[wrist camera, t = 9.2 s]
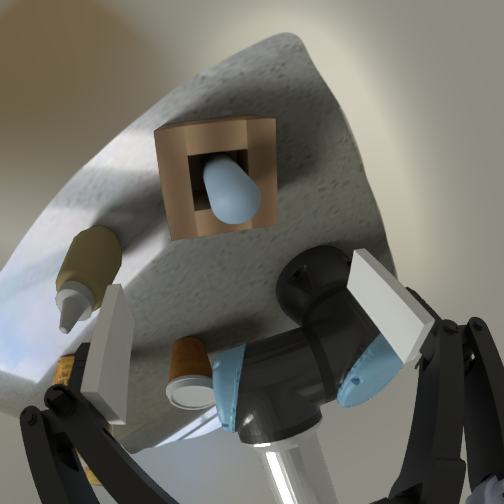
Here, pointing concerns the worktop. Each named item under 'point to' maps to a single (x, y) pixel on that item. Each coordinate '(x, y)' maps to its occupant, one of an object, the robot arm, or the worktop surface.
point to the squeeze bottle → (86, 274)
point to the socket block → (191, 179)
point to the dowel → (229, 189)
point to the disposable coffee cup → (190, 375)
